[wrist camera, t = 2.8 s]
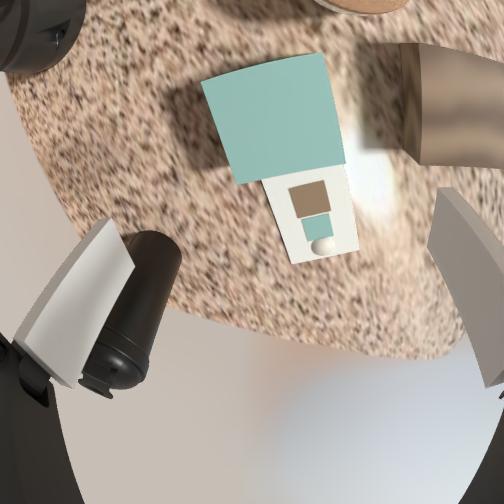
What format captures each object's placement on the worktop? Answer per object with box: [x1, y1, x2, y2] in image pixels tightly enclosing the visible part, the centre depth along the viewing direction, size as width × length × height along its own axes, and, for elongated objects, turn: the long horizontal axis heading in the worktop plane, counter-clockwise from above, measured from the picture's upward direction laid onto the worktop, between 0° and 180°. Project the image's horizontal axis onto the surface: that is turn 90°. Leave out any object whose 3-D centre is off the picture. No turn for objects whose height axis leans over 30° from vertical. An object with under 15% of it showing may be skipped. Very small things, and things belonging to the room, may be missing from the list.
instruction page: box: [261, 164, 359, 264], centre depth 36 cm, size 14×10×1 cm
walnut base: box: [399, 43, 504, 169], centre depth 22 cm, size 13×13×5 cm
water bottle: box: [78, 231, 182, 399], centre depth 34 cm, size 10×10×23 cm
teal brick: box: [201, 52, 346, 185], centre depth 26 cm, size 11×11×6 cm
